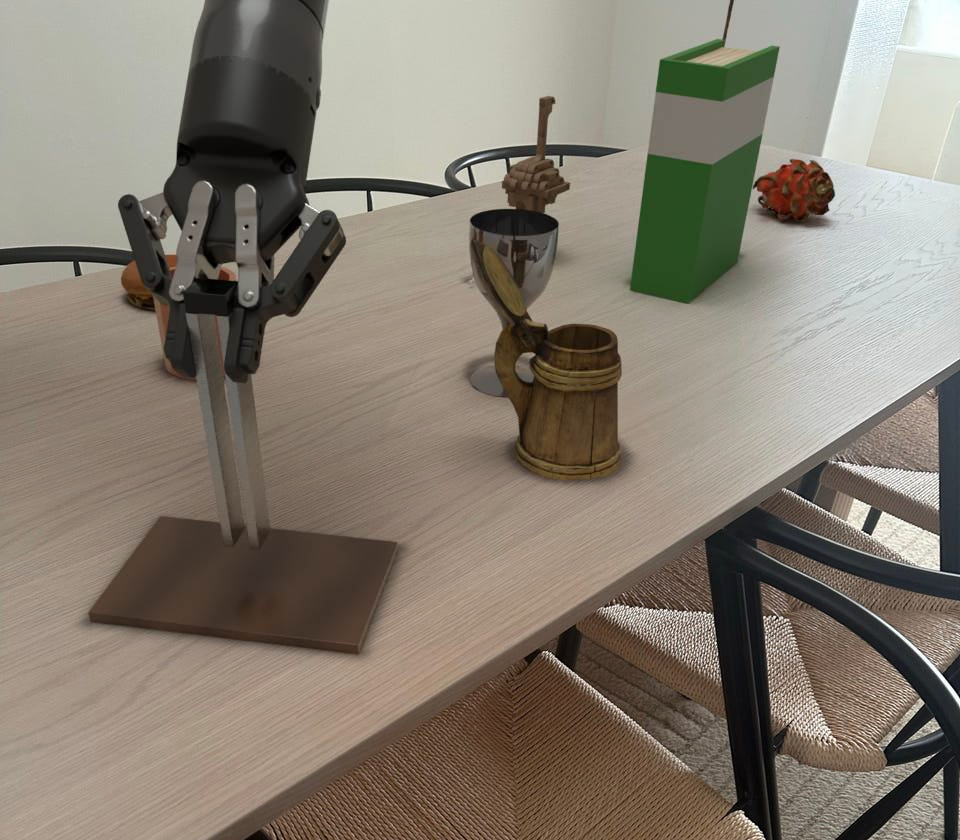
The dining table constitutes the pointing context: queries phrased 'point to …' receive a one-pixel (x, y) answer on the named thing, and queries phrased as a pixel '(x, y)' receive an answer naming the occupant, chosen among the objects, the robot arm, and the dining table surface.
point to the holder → (163, 317)
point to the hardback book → (700, 167)
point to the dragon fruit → (796, 190)
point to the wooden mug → (555, 383)
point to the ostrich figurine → (535, 173)
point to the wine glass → (515, 267)
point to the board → (250, 585)
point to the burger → (140, 284)
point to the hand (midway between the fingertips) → (209, 374)
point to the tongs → (227, 414)
